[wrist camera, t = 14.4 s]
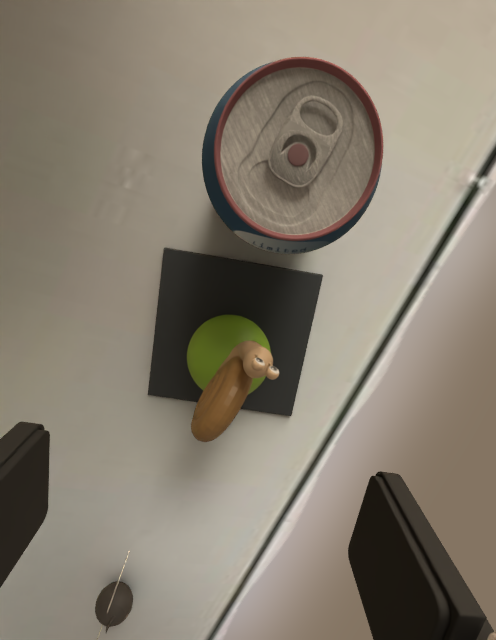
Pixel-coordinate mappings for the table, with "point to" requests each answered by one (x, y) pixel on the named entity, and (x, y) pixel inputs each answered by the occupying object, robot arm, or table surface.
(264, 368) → the snail figurine
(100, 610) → the bat toy
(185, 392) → the slate mat
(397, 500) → the robot arm
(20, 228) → the table surface
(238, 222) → the soda can
